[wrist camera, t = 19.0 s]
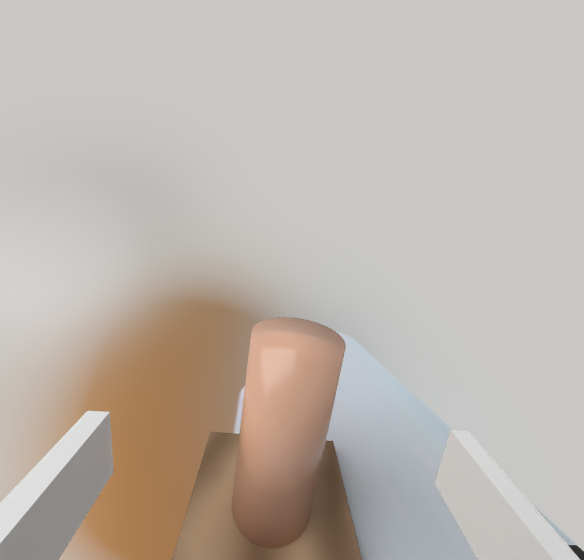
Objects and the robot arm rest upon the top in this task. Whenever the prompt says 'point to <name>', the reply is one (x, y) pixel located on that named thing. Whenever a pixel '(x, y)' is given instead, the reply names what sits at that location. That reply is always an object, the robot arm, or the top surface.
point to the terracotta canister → (284, 427)
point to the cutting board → (225, 534)
